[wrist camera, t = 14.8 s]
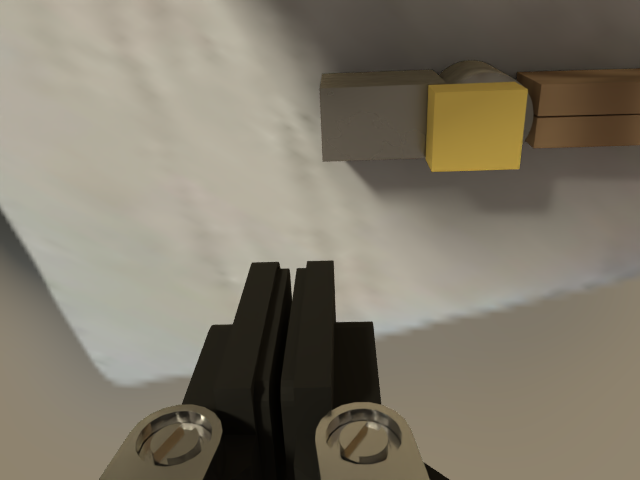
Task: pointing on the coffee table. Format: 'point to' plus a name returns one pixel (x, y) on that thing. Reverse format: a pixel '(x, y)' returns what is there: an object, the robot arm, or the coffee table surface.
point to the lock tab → (475, 126)
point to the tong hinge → (390, 110)
